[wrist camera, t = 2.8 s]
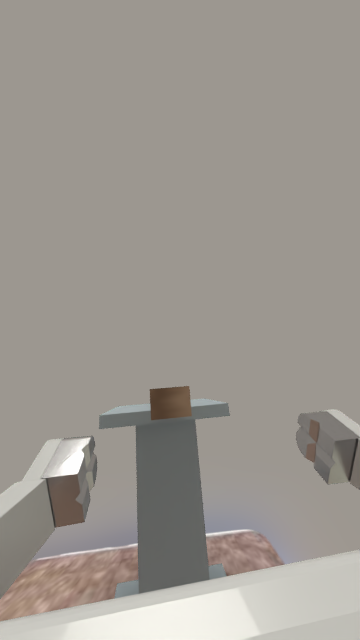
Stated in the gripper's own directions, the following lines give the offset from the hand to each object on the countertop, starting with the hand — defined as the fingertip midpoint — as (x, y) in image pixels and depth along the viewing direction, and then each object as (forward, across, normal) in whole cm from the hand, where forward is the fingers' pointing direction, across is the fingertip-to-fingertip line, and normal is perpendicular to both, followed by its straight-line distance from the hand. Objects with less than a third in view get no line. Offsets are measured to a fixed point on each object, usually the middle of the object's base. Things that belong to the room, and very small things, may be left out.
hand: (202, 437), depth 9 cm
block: (+19, 0, -11) cm, 22 cm away
